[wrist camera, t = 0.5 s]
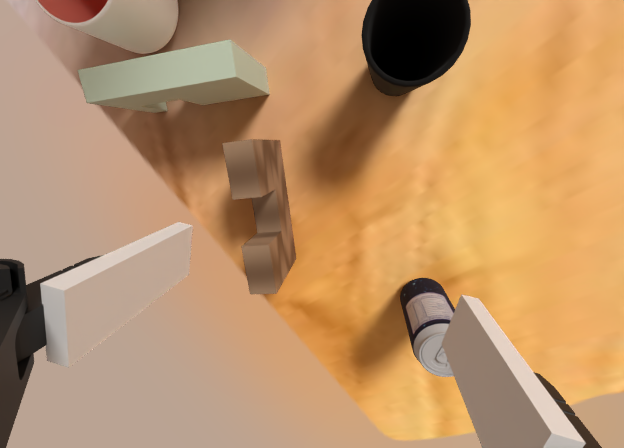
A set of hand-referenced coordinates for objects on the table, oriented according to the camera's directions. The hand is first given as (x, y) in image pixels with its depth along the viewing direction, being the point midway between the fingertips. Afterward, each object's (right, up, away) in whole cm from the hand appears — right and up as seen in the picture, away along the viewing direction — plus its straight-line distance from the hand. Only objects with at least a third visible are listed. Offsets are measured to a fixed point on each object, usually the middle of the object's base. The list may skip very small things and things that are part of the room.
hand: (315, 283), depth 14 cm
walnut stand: (-5, +6, +25) cm, 26 cm away
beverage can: (+15, -7, +25) cm, 30 cm away
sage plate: (-13, +20, +23) cm, 33 cm away
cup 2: (+9, +20, +19) cm, 29 cm away
